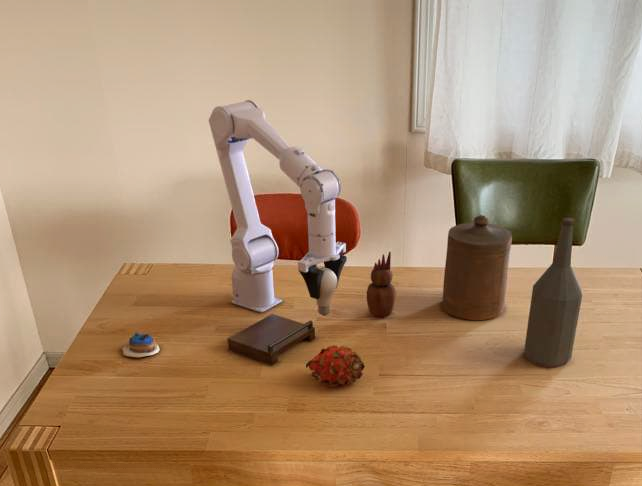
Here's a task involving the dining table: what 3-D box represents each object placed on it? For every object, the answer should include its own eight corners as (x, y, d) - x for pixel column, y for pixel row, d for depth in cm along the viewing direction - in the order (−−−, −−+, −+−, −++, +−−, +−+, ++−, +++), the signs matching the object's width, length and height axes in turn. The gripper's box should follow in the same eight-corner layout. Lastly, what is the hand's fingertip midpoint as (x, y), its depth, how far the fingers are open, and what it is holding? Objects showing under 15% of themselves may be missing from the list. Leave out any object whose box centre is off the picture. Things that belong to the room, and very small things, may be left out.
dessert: (167, 348, 169) (148, 331, 164) (149, 372, 168) (129, 357, 164) (148, 337, 174) (129, 321, 169) (130, 361, 173) (110, 346, 168)
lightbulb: (341, 312, 179) (341, 265, 173) (331, 323, 175) (330, 275, 168) (317, 307, 181) (315, 261, 174) (306, 318, 176) (304, 271, 169)
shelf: (228, 350, 171) (226, 331, 168) (273, 324, 181) (271, 307, 178) (271, 365, 166) (270, 346, 163) (315, 338, 176) (314, 320, 173)
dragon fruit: (368, 393, 160) (311, 395, 162) (370, 355, 163) (314, 358, 165) (359, 376, 152) (299, 378, 155) (361, 336, 155) (302, 339, 157)
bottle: (575, 352, 173) (600, 215, 155) (564, 372, 166) (589, 231, 148) (530, 342, 176) (549, 207, 159) (517, 361, 169) (535, 222, 151)
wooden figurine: (396, 309, 189) (398, 248, 180) (394, 320, 184) (395, 258, 175) (368, 308, 189) (368, 246, 180) (365, 318, 184) (365, 256, 175)
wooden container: (514, 304, 193) (525, 213, 179) (486, 326, 182) (496, 232, 169) (460, 289, 199) (467, 201, 186) (430, 310, 189) (435, 218, 176)
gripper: (316, 246, 160) (318, 308, 168) (357, 226, 169) (357, 286, 178) (288, 238, 162) (292, 300, 171) (330, 219, 172) (331, 278, 181)
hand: (323, 292), depth 174 cm, fingers closed on lightbulb, 6 cm apart
